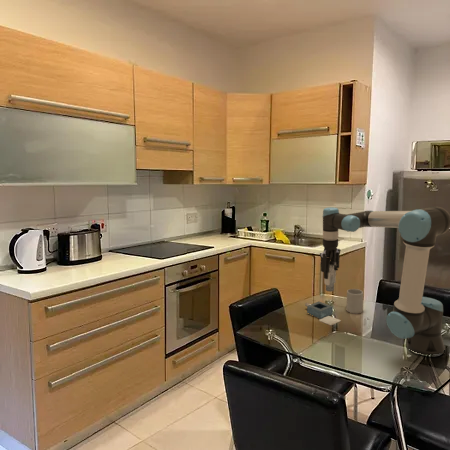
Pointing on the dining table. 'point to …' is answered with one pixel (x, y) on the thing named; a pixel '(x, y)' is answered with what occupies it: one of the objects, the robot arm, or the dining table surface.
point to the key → (331, 277)
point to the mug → (354, 301)
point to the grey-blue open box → (319, 309)
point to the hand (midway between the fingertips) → (330, 283)
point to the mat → (329, 320)
